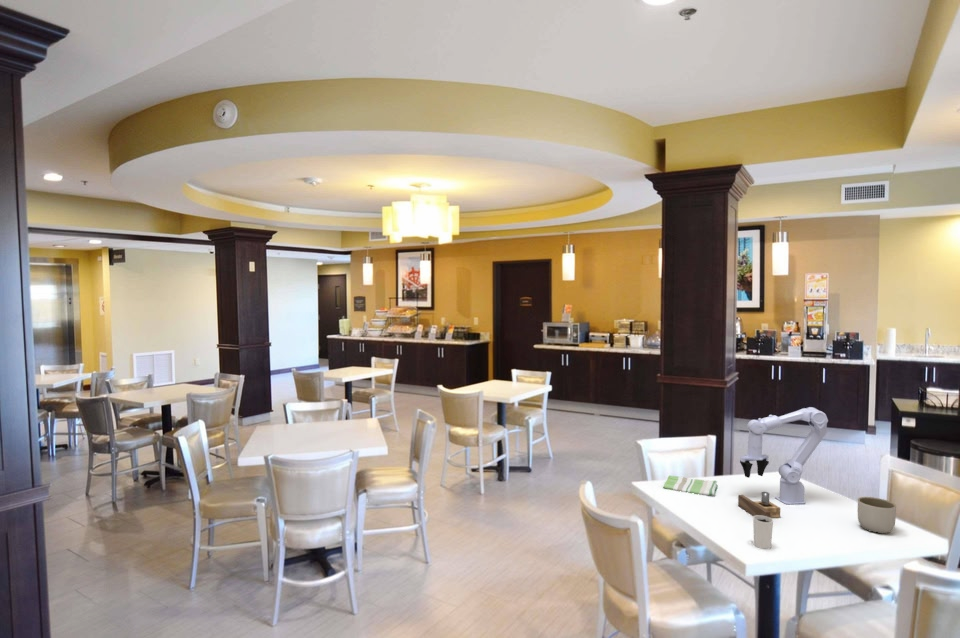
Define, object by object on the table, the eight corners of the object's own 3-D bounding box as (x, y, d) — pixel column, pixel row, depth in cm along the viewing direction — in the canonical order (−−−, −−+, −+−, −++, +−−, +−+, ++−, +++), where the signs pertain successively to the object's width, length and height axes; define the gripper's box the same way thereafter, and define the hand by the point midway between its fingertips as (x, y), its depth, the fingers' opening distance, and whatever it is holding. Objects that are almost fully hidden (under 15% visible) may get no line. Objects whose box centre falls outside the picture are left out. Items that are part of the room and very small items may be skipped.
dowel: (763, 509, 239) (764, 491, 239) (770, 512, 237) (770, 493, 237) (759, 511, 238) (760, 492, 237) (766, 513, 235) (766, 494, 235)
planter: (875, 536, 216) (876, 509, 215) (849, 524, 228) (850, 497, 228) (903, 535, 218) (904, 507, 217) (876, 522, 230) (877, 496, 230)
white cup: (751, 540, 212) (751, 514, 212) (770, 542, 210) (771, 516, 210) (754, 547, 206) (754, 521, 205) (774, 550, 204) (775, 523, 203)
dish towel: (714, 498, 258) (714, 490, 258) (662, 489, 268) (663, 482, 268) (718, 487, 273) (718, 480, 273) (668, 479, 284) (669, 472, 284)
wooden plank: (742, 505, 247) (742, 494, 247) (770, 524, 227) (770, 512, 227) (738, 506, 247) (738, 494, 247) (765, 524, 227) (765, 512, 227)
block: (768, 510, 242) (768, 500, 242) (780, 517, 234) (780, 507, 234) (750, 510, 241) (751, 501, 241) (762, 517, 233) (762, 508, 233)
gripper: (749, 450, 249) (748, 480, 249) (774, 447, 254) (773, 477, 254) (737, 446, 255) (736, 475, 256) (761, 443, 260) (760, 472, 261)
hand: (753, 476), depth 256 cm, fingers open, 7 cm apart
